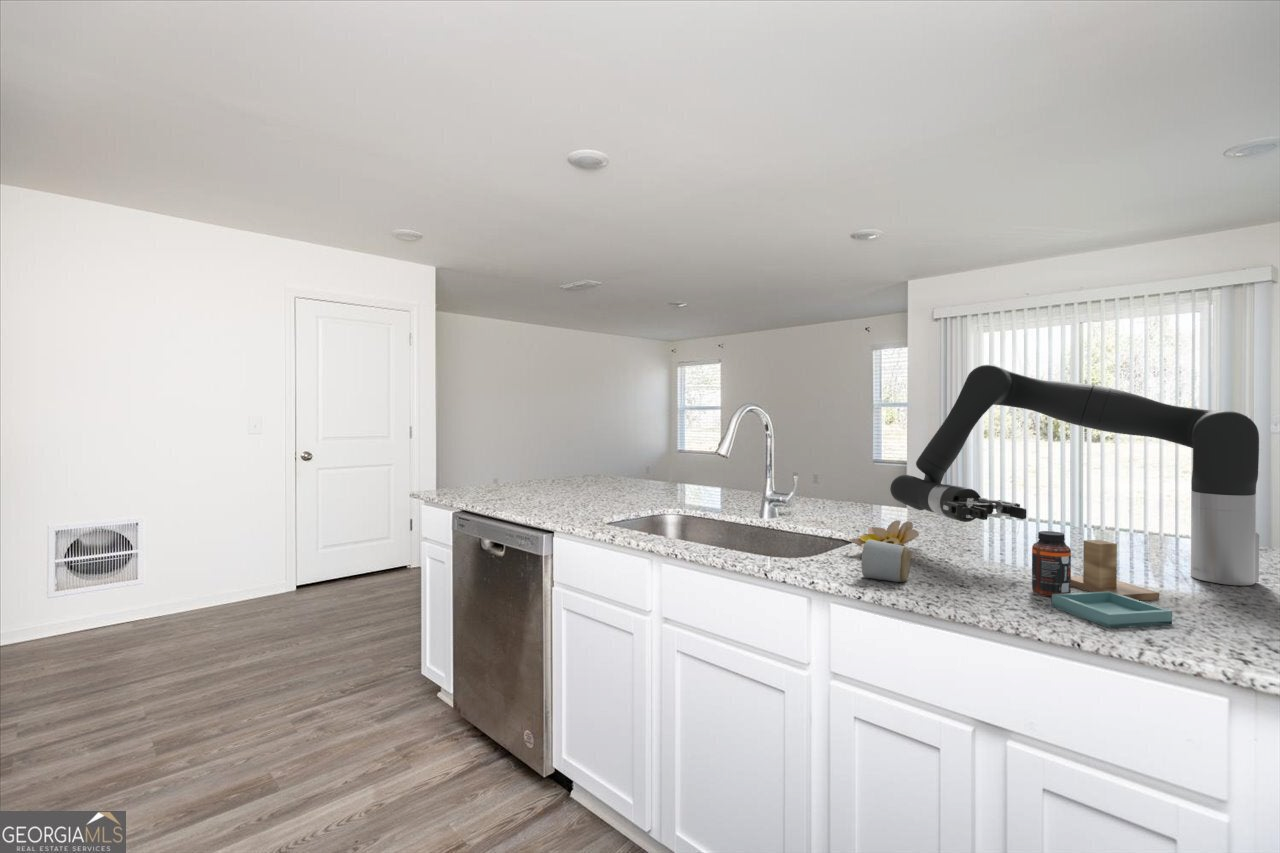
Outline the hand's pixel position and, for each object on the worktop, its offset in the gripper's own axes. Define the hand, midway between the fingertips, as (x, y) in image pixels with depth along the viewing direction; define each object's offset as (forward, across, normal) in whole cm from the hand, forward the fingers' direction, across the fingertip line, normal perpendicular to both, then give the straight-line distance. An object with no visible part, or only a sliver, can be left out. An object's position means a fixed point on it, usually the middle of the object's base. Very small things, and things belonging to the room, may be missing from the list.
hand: (1005, 514), depth 125 cm
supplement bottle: (+12, 0, +13) cm, 17 cm away
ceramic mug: (-4, -23, +14) cm, 27 cm away
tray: (+24, 0, +12) cm, 27 cm away
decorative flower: (-22, -14, +14) cm, 29 cm away
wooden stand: (+12, +12, +12) cm, 21 cm away
